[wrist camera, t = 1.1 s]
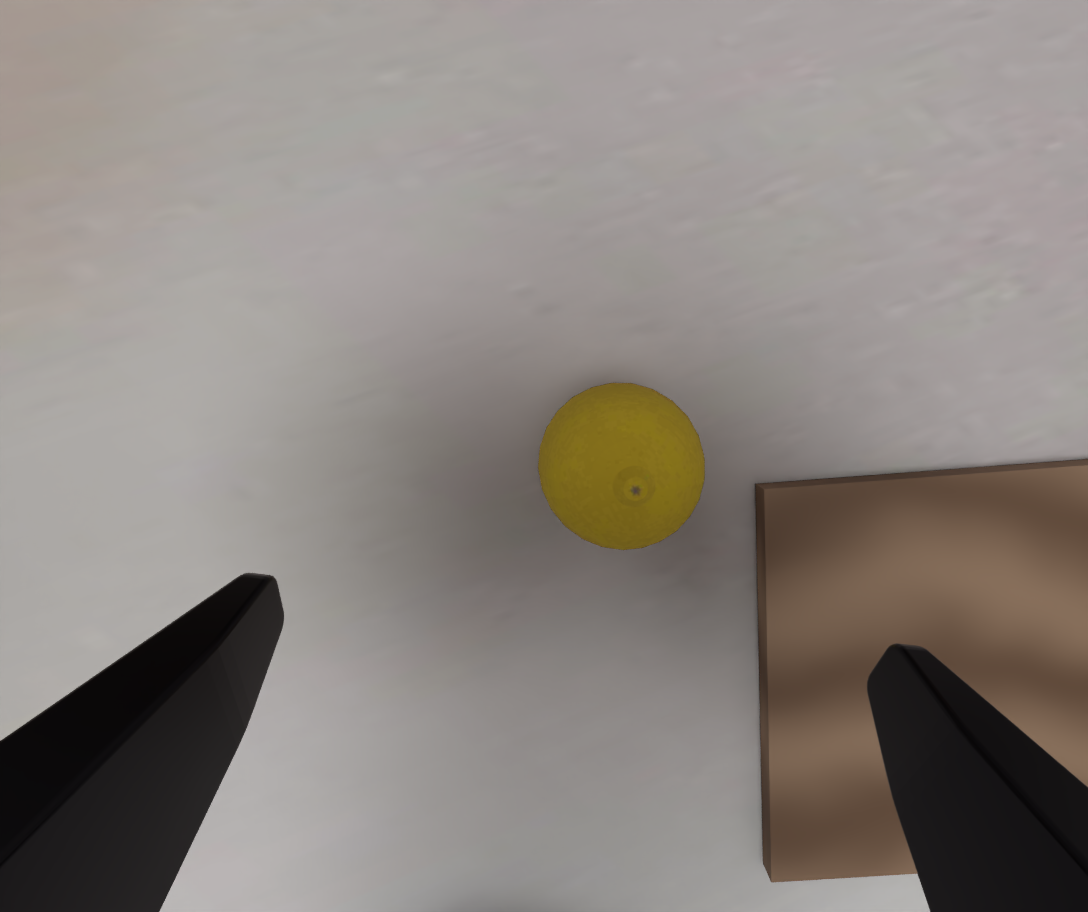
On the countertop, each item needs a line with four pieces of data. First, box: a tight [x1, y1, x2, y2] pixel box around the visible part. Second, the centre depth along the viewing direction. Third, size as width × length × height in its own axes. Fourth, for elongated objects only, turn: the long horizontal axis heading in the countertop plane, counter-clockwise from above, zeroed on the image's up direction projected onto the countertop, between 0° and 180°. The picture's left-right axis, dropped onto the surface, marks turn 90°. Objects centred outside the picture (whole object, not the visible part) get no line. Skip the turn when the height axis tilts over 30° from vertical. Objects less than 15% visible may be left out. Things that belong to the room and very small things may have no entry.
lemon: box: [538, 383, 705, 550], centre depth 20 cm, size 6×6×8 cm
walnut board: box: [756, 459, 1088, 882], centre depth 25 cm, size 18×18×1 cm
